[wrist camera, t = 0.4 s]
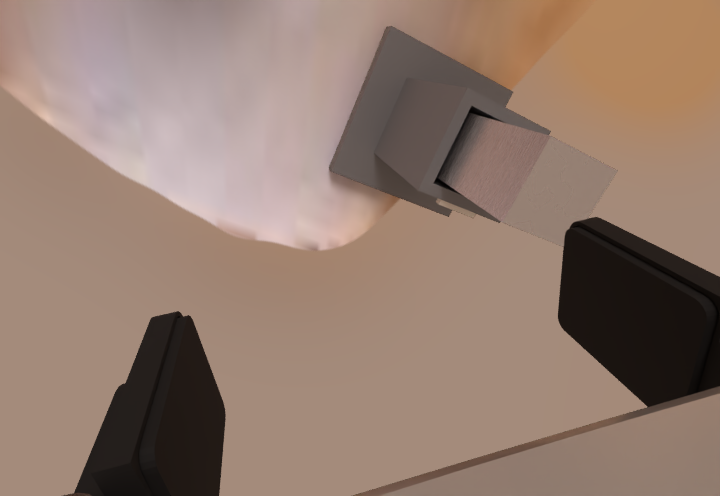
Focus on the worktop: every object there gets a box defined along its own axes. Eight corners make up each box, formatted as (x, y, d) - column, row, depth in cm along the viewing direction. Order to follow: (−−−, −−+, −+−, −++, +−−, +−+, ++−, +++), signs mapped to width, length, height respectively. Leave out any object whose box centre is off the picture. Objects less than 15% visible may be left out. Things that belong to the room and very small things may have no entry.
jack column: (412, 96, 38) (550, 134, 20) (456, 117, 40) (619, 170, 22) (390, 146, 40) (501, 223, 22) (433, 164, 41) (569, 250, 23)
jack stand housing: (386, 26, 37) (449, 14, 25) (504, 90, 41) (607, 106, 29) (328, 167, 41) (359, 216, 29) (442, 212, 45) (510, 269, 33)
